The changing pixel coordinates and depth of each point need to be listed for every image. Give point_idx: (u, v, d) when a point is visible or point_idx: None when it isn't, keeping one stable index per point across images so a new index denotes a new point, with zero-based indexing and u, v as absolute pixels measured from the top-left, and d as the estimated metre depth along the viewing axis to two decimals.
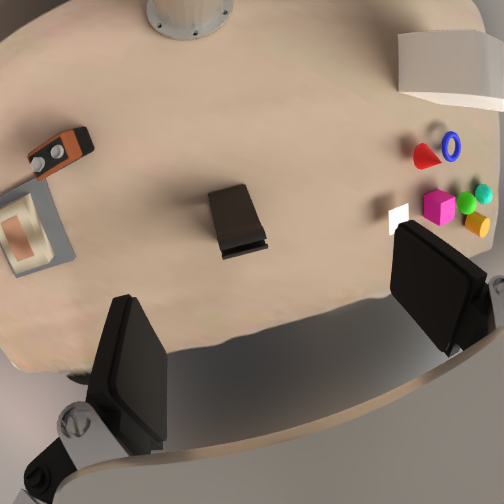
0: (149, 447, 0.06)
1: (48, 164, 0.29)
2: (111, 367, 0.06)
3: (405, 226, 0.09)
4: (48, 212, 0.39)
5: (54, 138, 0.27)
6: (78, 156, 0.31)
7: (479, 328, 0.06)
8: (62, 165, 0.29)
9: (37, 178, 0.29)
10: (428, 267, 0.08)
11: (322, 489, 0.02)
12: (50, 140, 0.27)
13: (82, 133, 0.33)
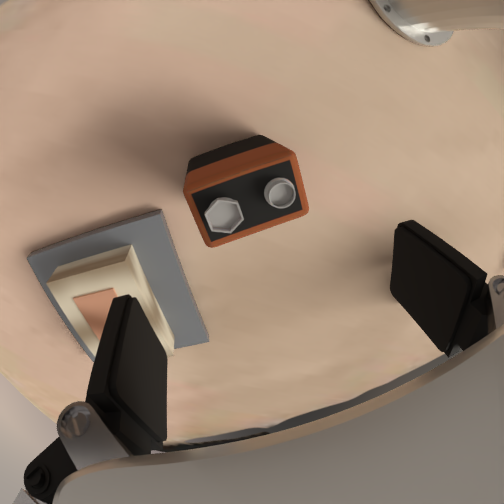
0: (149, 447, 0.06)
1: (248, 216, 0.17)
2: (111, 367, 0.06)
3: (405, 226, 0.09)
4: (171, 277, 0.27)
5: (273, 162, 0.16)
6: None
7: (479, 328, 0.06)
8: (282, 222, 0.18)
9: (211, 243, 0.17)
10: (428, 267, 0.08)
11: (322, 489, 0.02)
12: (261, 164, 0.16)
13: None
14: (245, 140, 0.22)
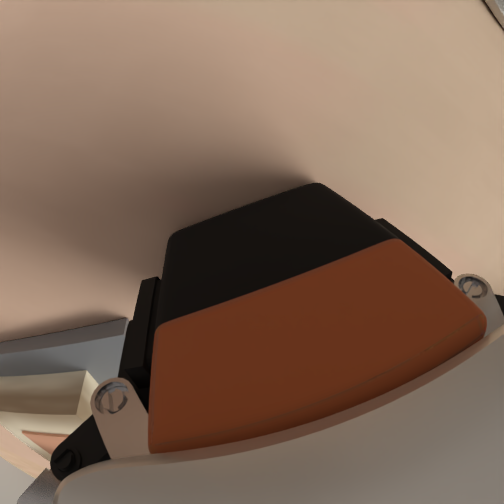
0: None
1: None
2: (147, 342, 0.06)
3: None
4: None
5: None
6: None
7: None
8: None
9: None
10: None
11: (322, 489, 0.02)
12: (411, 380, 0.04)
13: None
14: (290, 198, 0.10)
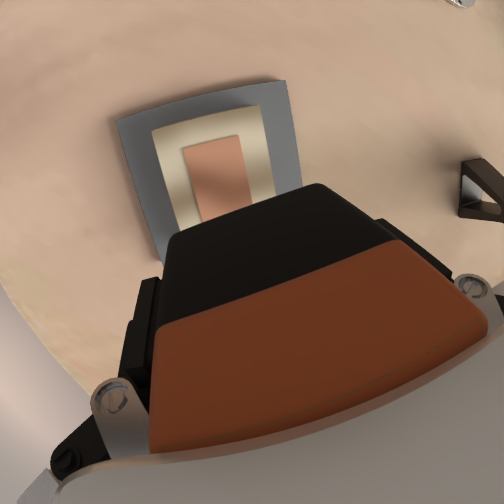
0: None
1: None
2: (147, 342, 0.06)
3: None
4: (285, 145, 0.26)
5: None
6: None
7: None
8: None
9: None
10: None
11: (322, 489, 0.02)
12: None
13: None
14: (291, 199, 0.10)
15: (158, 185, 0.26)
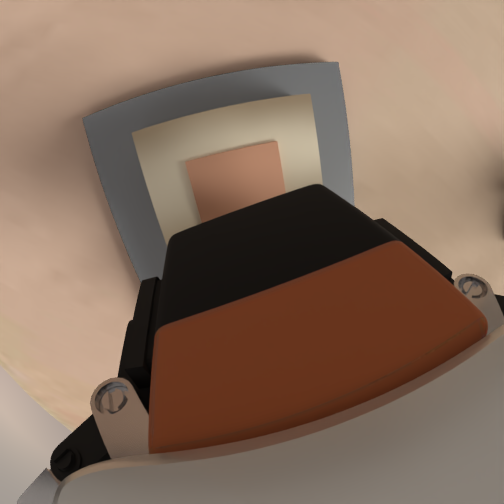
0: None
1: None
2: (147, 342, 0.06)
3: None
4: (336, 157, 0.18)
5: None
6: None
7: None
8: None
9: None
10: None
11: (322, 490, 0.02)
12: None
13: None
14: (291, 199, 0.10)
15: (148, 215, 0.17)
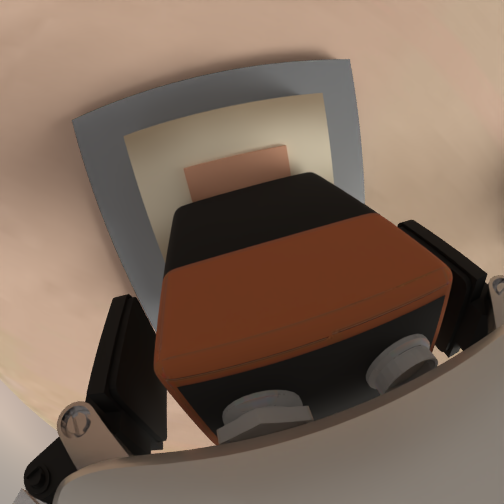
0: (149, 447, 0.06)
1: (318, 410, 0.06)
2: (111, 367, 0.06)
3: (405, 226, 0.09)
4: (347, 162, 0.16)
5: (414, 303, 0.05)
6: None
7: (479, 328, 0.06)
8: None
9: None
10: None
11: (322, 489, 0.02)
12: (386, 311, 0.05)
13: None
14: (287, 182, 0.12)
15: (144, 226, 0.16)
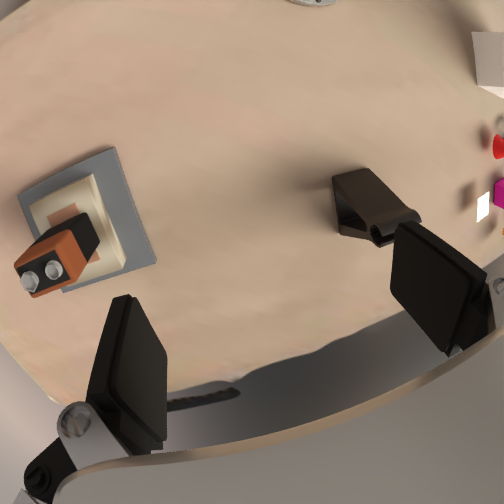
0: (149, 447, 0.06)
1: (44, 282, 0.22)
2: (111, 367, 0.06)
3: (405, 226, 0.09)
4: (121, 199, 0.32)
5: (47, 251, 0.21)
6: (82, 269, 0.25)
7: (479, 328, 0.06)
8: (63, 285, 0.23)
9: (32, 295, 0.22)
10: (428, 267, 0.08)
11: (322, 489, 0.02)
12: (41, 252, 0.21)
13: (83, 227, 0.27)
14: (71, 218, 0.28)
15: None
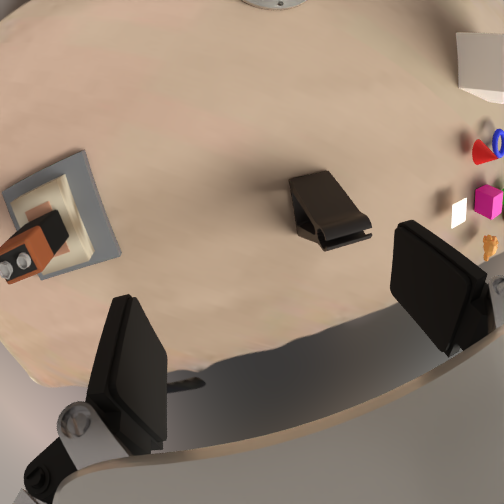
0: (149, 447, 0.06)
1: (17, 271, 0.24)
2: (111, 367, 0.06)
3: (405, 226, 0.09)
4: (89, 198, 0.34)
5: (18, 244, 0.23)
6: (49, 261, 0.26)
7: (479, 328, 0.06)
8: (32, 274, 0.25)
9: (7, 282, 0.24)
10: (428, 267, 0.08)
11: (322, 489, 0.02)
12: (14, 245, 0.23)
13: (52, 223, 0.28)
14: (44, 215, 0.29)
15: None
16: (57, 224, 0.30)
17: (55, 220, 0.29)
